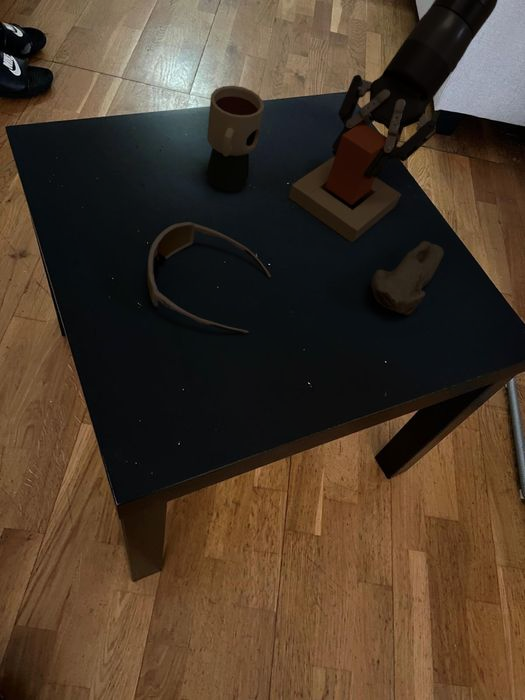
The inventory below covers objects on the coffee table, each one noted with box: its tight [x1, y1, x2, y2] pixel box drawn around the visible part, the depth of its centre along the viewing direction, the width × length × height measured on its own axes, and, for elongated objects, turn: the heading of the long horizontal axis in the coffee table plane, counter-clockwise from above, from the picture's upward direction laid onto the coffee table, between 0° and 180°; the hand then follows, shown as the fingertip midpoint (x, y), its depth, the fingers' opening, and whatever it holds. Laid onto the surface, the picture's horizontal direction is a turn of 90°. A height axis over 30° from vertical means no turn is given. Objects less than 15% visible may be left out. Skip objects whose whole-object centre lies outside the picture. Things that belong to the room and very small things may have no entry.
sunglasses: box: [146, 221, 272, 334], centre depth 68 cm, size 14×15×5 cm
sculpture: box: [370, 240, 445, 316], centre depth 73 cm, size 7×5×15 cm
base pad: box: [288, 155, 402, 244], centre depth 82 cm, size 12×12×2 cm
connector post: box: [326, 122, 387, 206], centre depth 77 cm, size 5×5×9 cm
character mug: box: [205, 85, 265, 192], centre depth 76 cm, size 11×7×13 cm, turn 170°
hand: (351, 165), depth 76 cm, fingers closed on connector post, 5 cm apart
